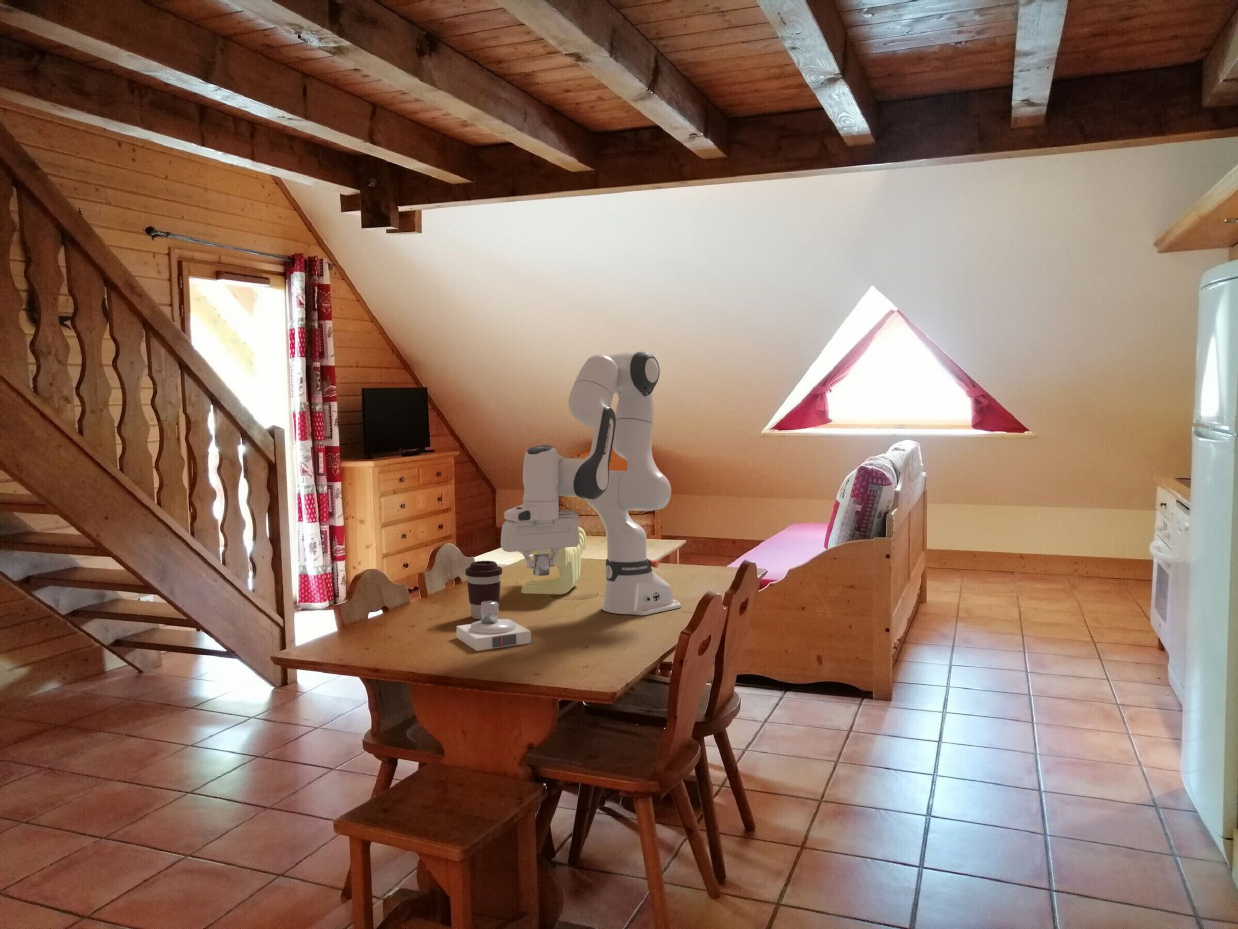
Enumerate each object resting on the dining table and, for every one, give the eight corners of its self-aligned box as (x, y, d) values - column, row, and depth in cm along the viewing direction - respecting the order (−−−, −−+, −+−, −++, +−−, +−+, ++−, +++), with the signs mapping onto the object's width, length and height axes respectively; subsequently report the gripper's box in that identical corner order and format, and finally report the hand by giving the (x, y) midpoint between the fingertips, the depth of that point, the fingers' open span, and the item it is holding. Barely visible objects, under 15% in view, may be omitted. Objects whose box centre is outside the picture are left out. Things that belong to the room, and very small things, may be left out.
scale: (508, 630, 244) (508, 615, 243) (531, 643, 231) (531, 627, 231) (456, 637, 237) (456, 622, 236) (477, 651, 224) (477, 635, 224)
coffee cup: (468, 622, 252) (467, 567, 251) (464, 614, 262) (463, 560, 261) (505, 619, 255) (504, 564, 254) (500, 611, 264) (499, 558, 263)
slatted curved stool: (566, 600, 277) (565, 540, 276) (513, 599, 280) (512, 539, 279) (586, 580, 307) (586, 525, 305) (538, 579, 310) (538, 525, 308)
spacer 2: (545, 572, 237) (545, 552, 236) (552, 574, 233) (552, 554, 233) (530, 573, 235) (530, 553, 234) (537, 576, 231) (537, 556, 231)
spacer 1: (494, 619, 239) (494, 600, 238) (499, 623, 235) (499, 603, 235) (479, 621, 237) (478, 601, 236) (484, 625, 233) (484, 605, 233)
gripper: (572, 508, 241) (572, 562, 242) (497, 512, 231) (498, 568, 232) (584, 510, 236) (584, 565, 236) (508, 515, 225) (508, 572, 226)
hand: (541, 567), depth 234 cm, fingers closed on spacer 2, 4 cm apart
